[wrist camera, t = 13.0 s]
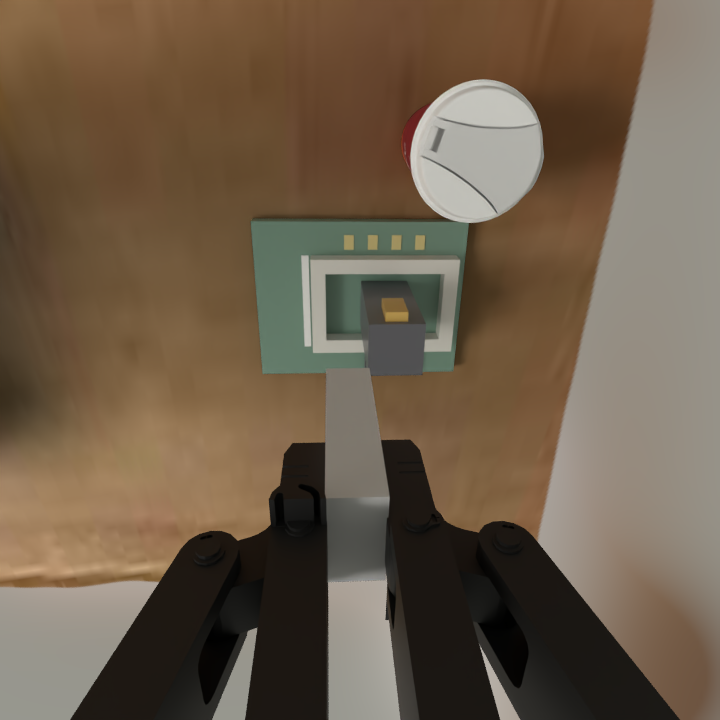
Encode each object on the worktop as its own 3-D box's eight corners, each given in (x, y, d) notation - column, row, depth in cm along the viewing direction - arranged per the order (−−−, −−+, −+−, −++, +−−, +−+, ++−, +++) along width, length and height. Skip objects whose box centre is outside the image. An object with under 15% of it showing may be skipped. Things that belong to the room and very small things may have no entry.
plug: (360, 323, 46) (367, 375, 37) (360, 273, 44) (369, 315, 35) (404, 323, 46) (422, 375, 37) (407, 272, 44) (426, 314, 35)
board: (264, 367, 49) (260, 381, 46) (252, 218, 43) (248, 225, 40) (450, 365, 50) (456, 378, 47) (465, 219, 44) (473, 225, 41)
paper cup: (374, 174, 42) (393, 202, 29) (408, 72, 39) (446, 54, 26) (461, 205, 43) (515, 245, 31) (500, 109, 40) (578, 110, 28)
